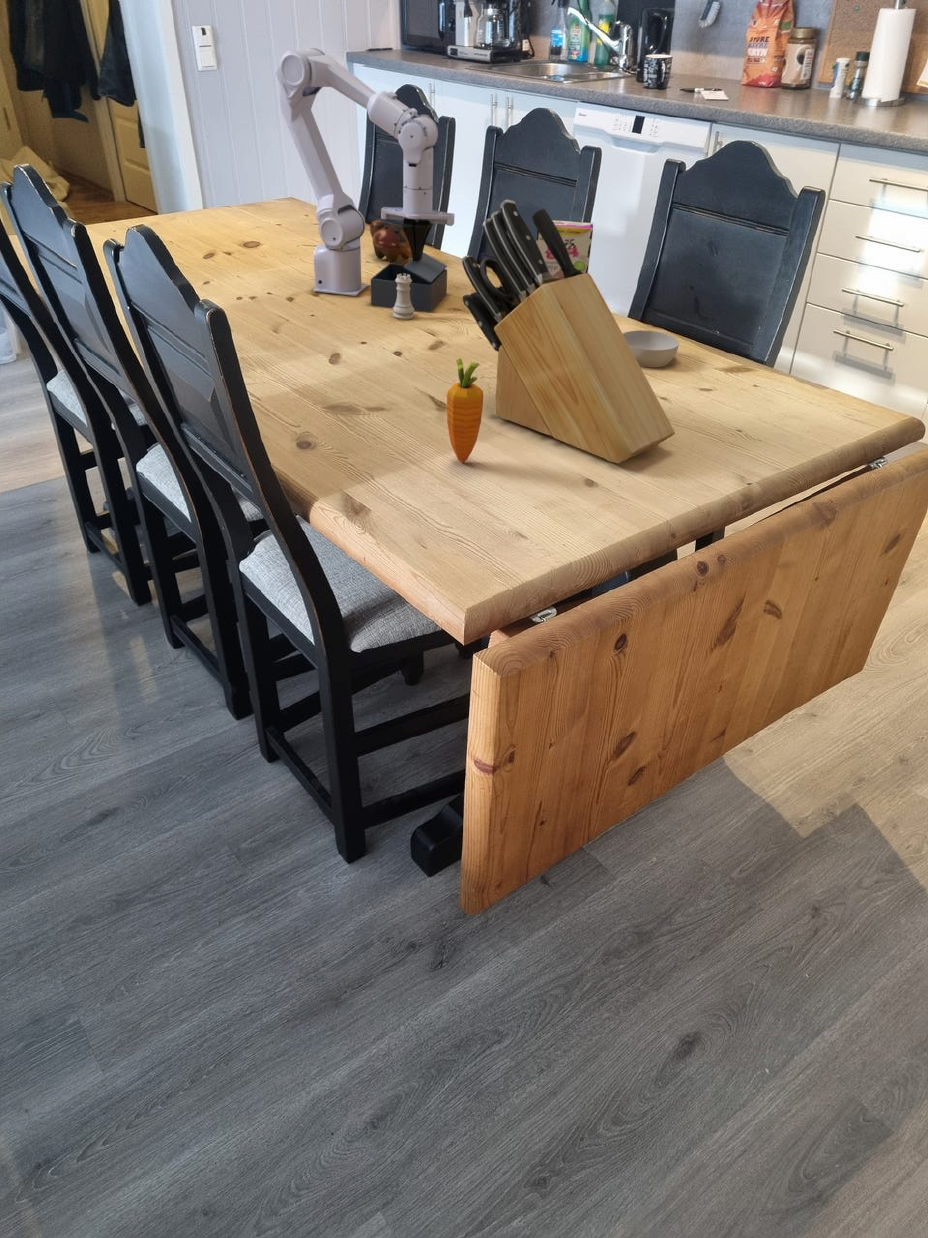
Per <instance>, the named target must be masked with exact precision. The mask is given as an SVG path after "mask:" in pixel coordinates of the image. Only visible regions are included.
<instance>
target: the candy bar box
mask: <svg viewBox="0 0 928 1238" xmlns="http://www.w3.org/2000/svg"><path fill="white" fill-rule="evenodd" d="M552 221H553V223H554V224H555V226H556V228H557V229H558V231H559V233H560V235H561V237H562V239H563V241H564V244H565V246H566V248H567V251H568V254H569V256H570V259H571V262H572V263H573V265H574V267H575V268H576V269H577V270H581V272H582V273H583V274H585V273H589V265H590V258H591V249H592V242H593V241H592V240H593V234H594V233H593V232H594V223H592V222H582V221H570V220H569V221H568V220H555V219H552ZM535 241H536V243H537V245H538V247H539V249H540V252H541V254H542V256H543V259H544V261H545V264H546V266H547V269H548V271H549V272H550V274H551V275H552V276H555V277H560V278H561V279H564V274H563V271H562V270H561V268H560V266H559V264H558V262H557V261H556V259H555V258H554V257H553V255H552V254H551V252H550V250H549V249H548V247H547V245H546V243H545V242H544V240H543V238H542V236H541V235H540V233H539V231H538V229H537V228H536V239H535Z"/></svg>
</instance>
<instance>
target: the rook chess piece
mask: <svg viewBox="0 0 928 1238" xmlns="http://www.w3.org/2000/svg"><path fill="white" fill-rule="evenodd" d="M395 281H396V283H397V285H398V286H397V288H396V289H397V300H396V303H395V306H394V307H393V308H392V311H393V312H392V314H391V315H392V316H393V318H394V319H396V320H400V321H409V320H412V319H413V318H414V317H415V315H416V314H415V313H414V312H415V311H414V308H413V306H412V303H411V300H410V289H411V288H410V283H411V281H412V280H411V279H410V275H409V274H407V276H406V274H403V276H402V274H399V275H397V278H396V280H395Z"/></svg>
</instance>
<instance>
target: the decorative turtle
mask: <svg viewBox="0 0 928 1238" xmlns="http://www.w3.org/2000/svg"><path fill="white" fill-rule="evenodd" d="M369 232H370V236H371V238H372V245H373V250H374V255H375V257H376V259H378V260H382V259H384V258H386V260H387V261H388V262H389V264H390V263H391V264H395V263H396V262H397V260H398V258H399V257H400V256H401V258H402V259H404V260H409V259H411V260H412V259H413V258H412V253H411V249H410V245H409V242H408V239H407V237H406V235H405V233H404V231H403V229H402V224H395V223H392V224H391V223H390V224H387V225H386V222H384V221H383V220H378V219H376V220H373V221H372V222H371V223H370V224H369Z"/></svg>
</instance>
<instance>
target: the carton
mask: <svg viewBox="0 0 928 1238" xmlns="http://www.w3.org/2000/svg"><path fill="white" fill-rule="evenodd" d="M405 265H406V264H399V263H390V262H389V263H388V264H387V265H386V266H384V267H383V268H382V269H381V270H380V271H378V272H377V273H376V274H375V275H374V276H372V277H371V278H370V305H371V306H372V307H381V308H389V309H393V307H394V306H395V303H396V300H397V289H396V288H397V286H398V285H397V283H396V281H395V280H396V278H397V275H399V274H402V276H403V274H406V276H407V274H409V275H410V279H411V280H412V281H411V283H410V288H411V289H410V300H411V303H412V306H413V308H414V312H423V313H432V312H433V311H434V310H435V308H436V307H438V305H440V303H441V302H442V301H443V300H444V299H445V298H446V296H447V293H448V292H447V291H448V269H447V268H445V269H444V270H443V271H442V272H441V273H440V274H439V275H438V276H437V277H436V278H435V279H434V280H433V281H432V282H431V283H430V282H428V281H426V280H424V279H423V278H421V277H419V276H417V275H415V274H414V273H412V272H410V271H408V270H407V269H405V268H403V267H404V266H405Z"/></svg>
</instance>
